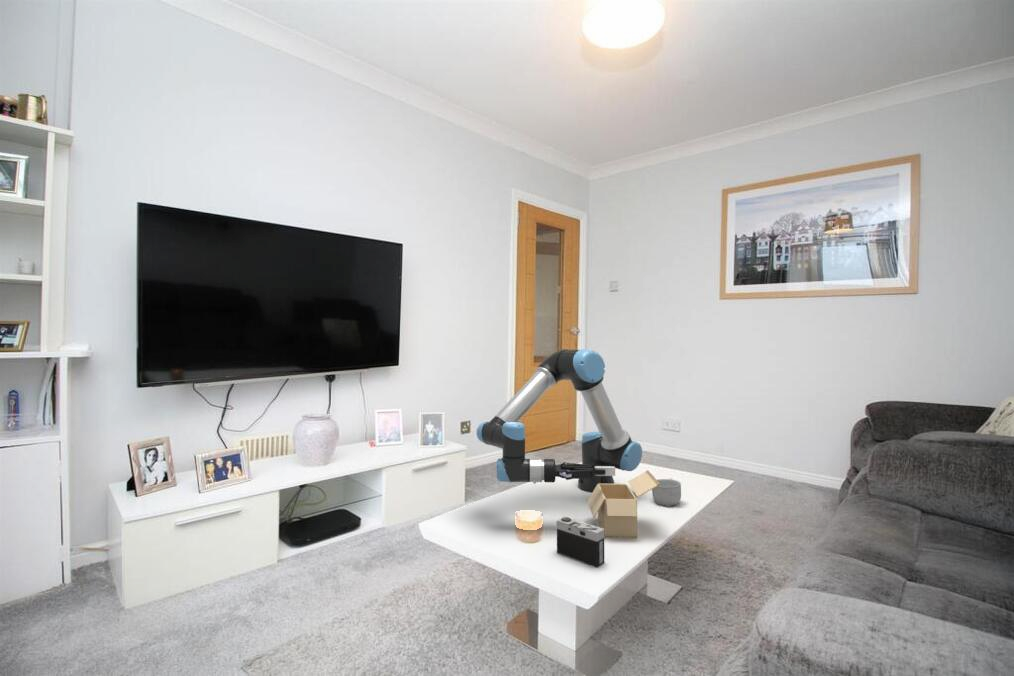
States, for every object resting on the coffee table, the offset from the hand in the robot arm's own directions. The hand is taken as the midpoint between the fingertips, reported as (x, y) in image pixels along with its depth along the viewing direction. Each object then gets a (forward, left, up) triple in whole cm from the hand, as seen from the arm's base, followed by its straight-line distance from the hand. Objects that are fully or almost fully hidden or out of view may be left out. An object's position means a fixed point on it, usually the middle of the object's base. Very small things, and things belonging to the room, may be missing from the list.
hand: (614, 471), depth 160 cm
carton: (-1, 0, -19) cm, 19 cm away
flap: (+5, +3, -6) cm, 8 cm away
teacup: (+10, +34, -19) cm, 41 cm away
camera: (-2, -24, -19) cm, 31 cm away
